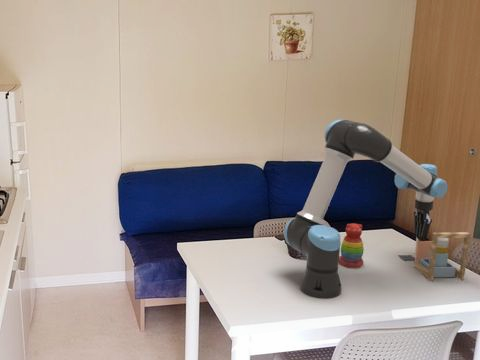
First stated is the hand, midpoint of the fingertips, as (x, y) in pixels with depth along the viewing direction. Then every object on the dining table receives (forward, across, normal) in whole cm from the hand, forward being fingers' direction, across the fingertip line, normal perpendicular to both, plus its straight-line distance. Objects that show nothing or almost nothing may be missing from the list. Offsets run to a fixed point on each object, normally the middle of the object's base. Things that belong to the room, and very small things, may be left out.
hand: (418, 251), depth 241 cm
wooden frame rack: (+3, -19, 0) cm, 19 cm away
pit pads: (+3, 0, 0) cm, 3 cm away
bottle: (+3, -17, 0) cm, 18 cm away
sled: (+3, -13, 0) cm, 14 cm away
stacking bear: (+3, -6, +33) cm, 34 cm away
